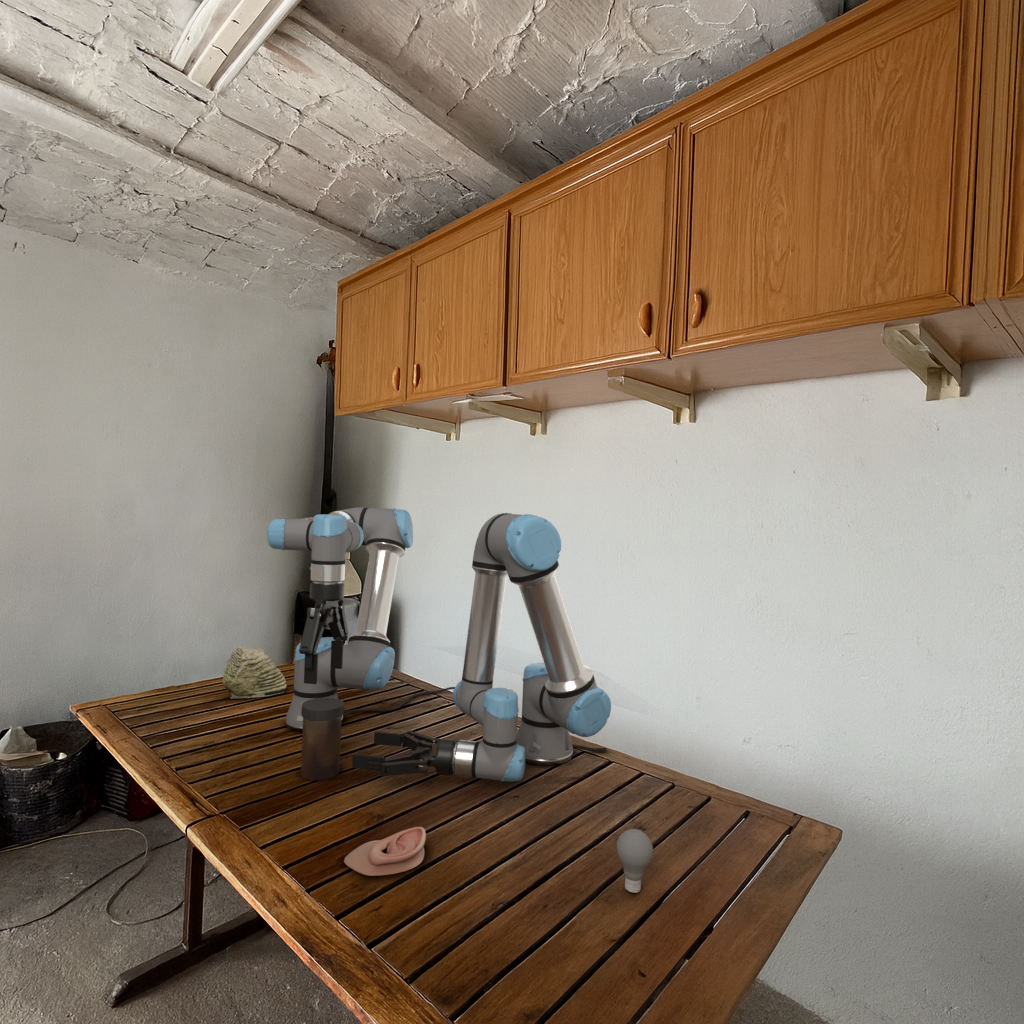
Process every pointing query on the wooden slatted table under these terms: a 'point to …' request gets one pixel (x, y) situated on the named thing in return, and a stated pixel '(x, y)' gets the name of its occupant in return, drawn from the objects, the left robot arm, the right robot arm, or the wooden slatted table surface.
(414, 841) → the anatomical model
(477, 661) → the right robot arm
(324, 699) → the lid
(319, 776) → the jar
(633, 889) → the light bulb
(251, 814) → the wooden slatted table surface
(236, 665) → the fossil
